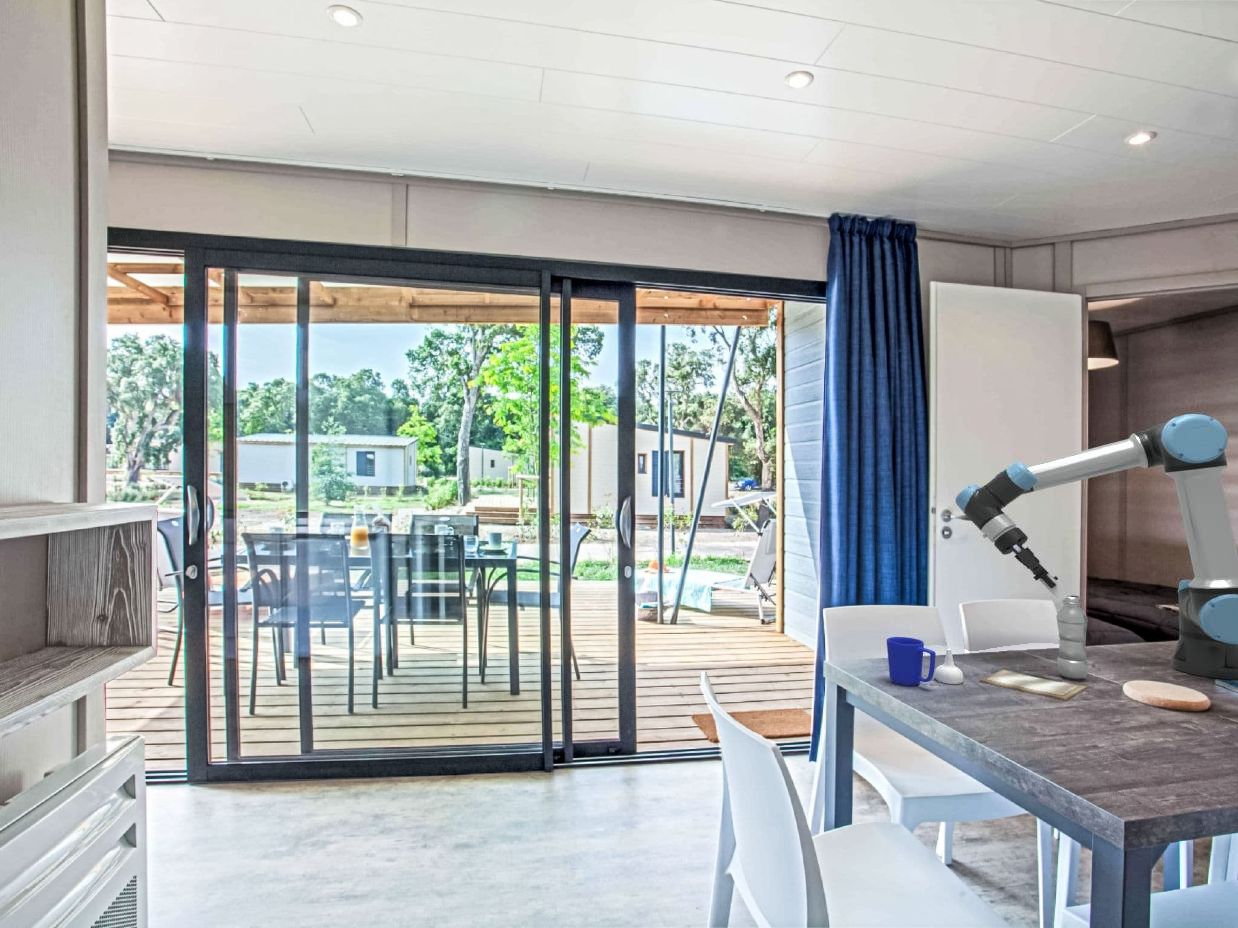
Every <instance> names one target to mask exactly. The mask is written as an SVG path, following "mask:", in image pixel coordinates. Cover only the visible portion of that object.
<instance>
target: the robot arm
mask: <svg viewBox="0 0 1238 928" xmlns="http://www.w3.org/2000/svg"><path fill="white" fill-rule="evenodd" d="M1228 436H1229V435H1228V432H1227V430H1226V428H1225V426H1224V425H1223V424H1222V423H1221V422H1220V421H1219V420H1217V419H1215V418H1213V417H1212V416H1209V415H1206V414H1205V415H1204V414H1200V413H1198V414H1197V413H1189V414H1184V415H1178V416H1175V417H1173V418H1171V419H1168V420H1166V421H1164V422H1161V423H1160V424H1157V425H1155V426H1152V427H1150V428H1147V429H1145V430H1140V431H1139V432H1134V433H1132V434H1130V436H1129V437H1128V438H1127V439H1123V440H1119V441H1116V442H1111V443H1108V444H1103V445H1100V446H1096V447H1092V448H1087V449H1085V450H1081V451H1077V452H1074V453H1070V454H1066V455H1061V456H1058V457H1054V458H1050V459H1048V460H1047V459H1046V460H1043V461H1039V462H1036V463H1032V464H1028V465H1027V464H1026V465H1025V464H1023V463H1022V462H1021V461H1016V462H1014V463H1012V464H1011V465H1008V466H1007V467H1006V468H1005V469H1004V470H1002V471H1000V472H999V473H998V474H996V475H995V476H994V478H992V479H991V480H990V481H988V482H987V483H986V484H985V485H983V486H978V485H977V484H970V485H968V486H967V487H965V488H963V489H962V490H961V491H959V493H957V495H956V497H955V504H956V505H957V507H959V509H960V510H961V511H962V513H963V514H964V515H965V516H966V517H967V518H968V519H969V521H971V522H972V523H973V524H974V525H975V527H977V528H978V530H979V531H980V532H982V537H983V539H986V538H987V539H988V540H989V541H990V542H991V543H993V544H994V547H995V549H997V550H998V551H999V553H1001V554H1002V555H1003V556H1004V555H1009V554H1011V553H1014V554H1015V555H1014V558H1015V559H1016V560H1017V561H1018V562H1020V563H1021V564H1022V565H1023V566H1024V567H1026V568H1027V569H1028V570H1030V572H1031V573H1032V575H1034V576H1033V579H1034V580H1035V581H1036V582H1037V581H1038V580H1039V581H1040V582H1041V583H1042V585H1043V586H1044V587H1045V588H1046V589H1047V590H1048V591H1049V592H1050V594H1051V595H1053V596H1054V597H1055V598H1056V599H1057V601H1059V602H1061V603H1062V601H1063V600H1064V599H1066V598H1067V597H1069V596H1070V595H1071V594H1070V592H1069V591H1068V590H1066V588H1065V586H1063V585H1062V584H1061V583H1060V582H1059V581H1058V580H1059V577H1058V576H1057V575H1055V576H1052V575H1051V573H1049V572H1048V570H1046V568H1044V566H1043V565H1042V564H1041V562H1040V559H1039V558H1038V557H1037V556H1036V555H1035V554H1034V552H1033V551H1032V550H1031V549H1030V548H1029V547H1028V546H1027V547H1024V546H1023V545H1024V544H1026V542H1027V541H1028V536H1027V534H1026V533H1025V532H1024V531H1023V530H1022V529H1020V527H1017V524H1016V523H1015V521H1013V520H1012V519H1011V518H1010V517H1009V515H1007V514H1006V513H1005V512H1004V511H1003V508H1006V506H1008V505H1009V504H1011V503H1012V502H1013V501H1015V500H1016V499H1018V498H1020V496H1022V495H1026V494H1030V493H1034V492H1037V491H1042V490H1045V489H1050V488H1055V487H1058V486H1062V485H1067V484H1070V483H1074V482H1075V483H1076V482H1079V481H1082V480H1087V479H1091V478H1095V477H1099V476H1104V475H1107V474H1112V473H1116V472H1120V471H1124V470H1128V469H1132V468H1137V467H1141V468H1143V469H1149V468H1152V467H1157V466H1163V469H1164V474H1165V475H1166V476H1168V477H1170V478H1172V479H1173V480H1174V482H1175V483H1174V484H1175V488H1176V494H1177V497H1178V502H1179V503H1178V504H1179V506H1180V507H1179V508H1180V511H1181V518H1182V523H1183V527H1184V531H1185V536H1186V542H1187V545H1188V551H1189V556H1190V561H1191V566H1192V571H1193V575H1194V577H1193V579H1183V580H1180V581H1179V583H1178V589H1177V594H1178V620H1179V621H1178V622H1179V623H1178V624H1179V625H1178V626H1179V630H1178V631H1179V639H1178V640H1177V643H1176V644H1175V645H1176V646H1175V648H1174V650H1173V653H1172V655H1171V658H1170V659H1171V660H1170V661H1171V665H1170V666H1171V667H1172V668H1173V669H1175V670H1177V671H1180V672H1183V673H1187V674H1190V675H1195V676H1199V677H1206V678H1213V679H1222V680H1223V679H1224V680H1238V550H1237V549H1238V548H1237V546H1236V540H1235V535H1234V531H1233V526H1232V522H1231V517H1230V512H1229V508H1228V507H1229V506H1228V502H1227V497H1226V494H1225V489H1224V484H1223V480H1222V474H1223V472H1225V470H1226V469H1227V468H1228V463H1227V456H1226V452H1225V451H1226V449H1227V446H1228V442H1229V437H1228Z"/></svg>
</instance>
